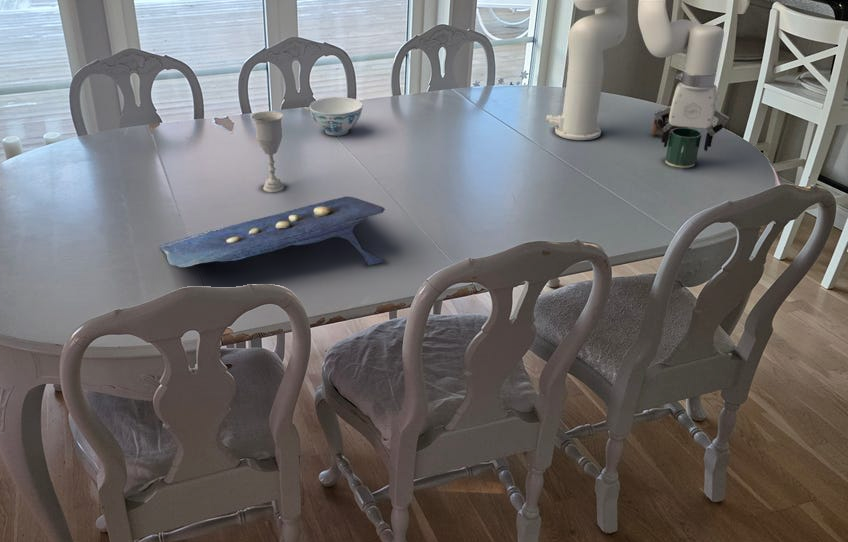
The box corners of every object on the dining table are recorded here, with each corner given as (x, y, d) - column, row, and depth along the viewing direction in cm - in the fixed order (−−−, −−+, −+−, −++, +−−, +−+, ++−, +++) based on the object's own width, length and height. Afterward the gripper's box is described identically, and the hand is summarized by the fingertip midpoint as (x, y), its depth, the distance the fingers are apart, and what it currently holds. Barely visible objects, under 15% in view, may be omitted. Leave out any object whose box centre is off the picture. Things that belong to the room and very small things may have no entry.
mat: (188, 319, 146) (171, 261, 143) (167, 288, 171) (153, 237, 167) (403, 256, 160) (393, 201, 156) (355, 235, 184) (346, 187, 181)
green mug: (665, 155, 205) (671, 126, 201) (695, 159, 203) (702, 129, 199) (663, 169, 197) (669, 139, 193) (694, 173, 195) (701, 142, 191)
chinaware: (372, 128, 227) (372, 102, 223) (344, 144, 216) (343, 117, 212) (330, 119, 234) (329, 94, 229) (300, 134, 223) (298, 108, 219)
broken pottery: (695, 141, 215) (691, 119, 210) (661, 156, 218) (656, 134, 212) (679, 117, 224) (674, 95, 218) (646, 131, 226) (641, 109, 220)
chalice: (292, 184, 193) (287, 113, 184) (281, 195, 188) (275, 122, 178) (265, 180, 195) (259, 110, 186) (253, 191, 190) (246, 119, 180)
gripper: (659, 81, 190) (648, 148, 198) (737, 86, 184) (721, 155, 193) (661, 73, 195) (650, 139, 204) (736, 78, 190) (722, 145, 199)
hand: (685, 147), depth 199 cm, fingers open, 9 cm apart
